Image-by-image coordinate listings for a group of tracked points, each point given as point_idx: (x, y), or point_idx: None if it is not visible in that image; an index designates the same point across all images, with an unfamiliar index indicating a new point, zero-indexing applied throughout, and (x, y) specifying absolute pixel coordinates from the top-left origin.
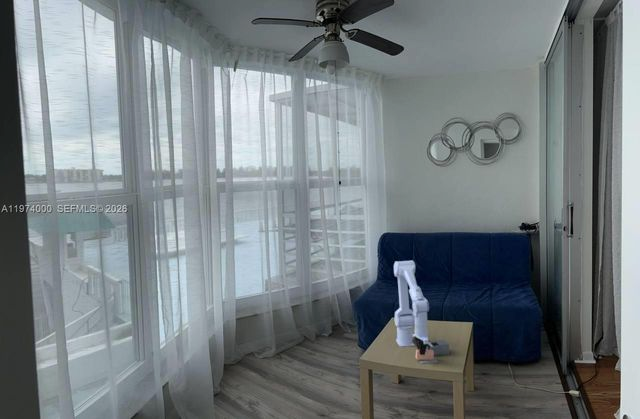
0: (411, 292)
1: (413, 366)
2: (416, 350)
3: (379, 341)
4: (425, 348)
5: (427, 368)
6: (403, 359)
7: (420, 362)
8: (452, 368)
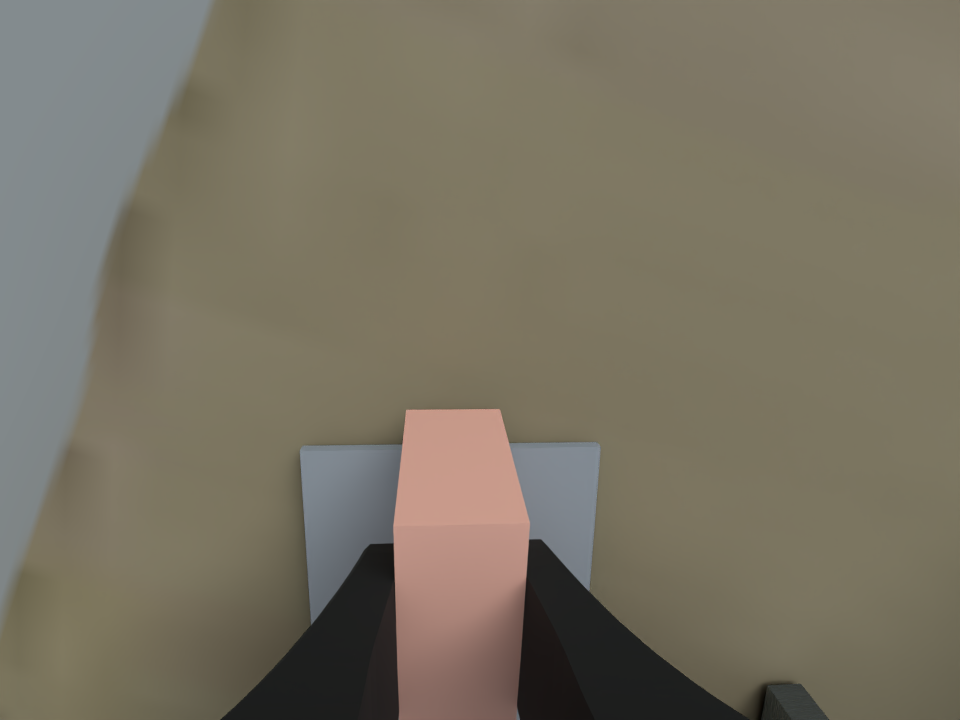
0: None
1: (206, 260)
2: (484, 514)
3: None
4: None
5: (94, 496)
6: (589, 158)
7: (342, 447)
8: None
